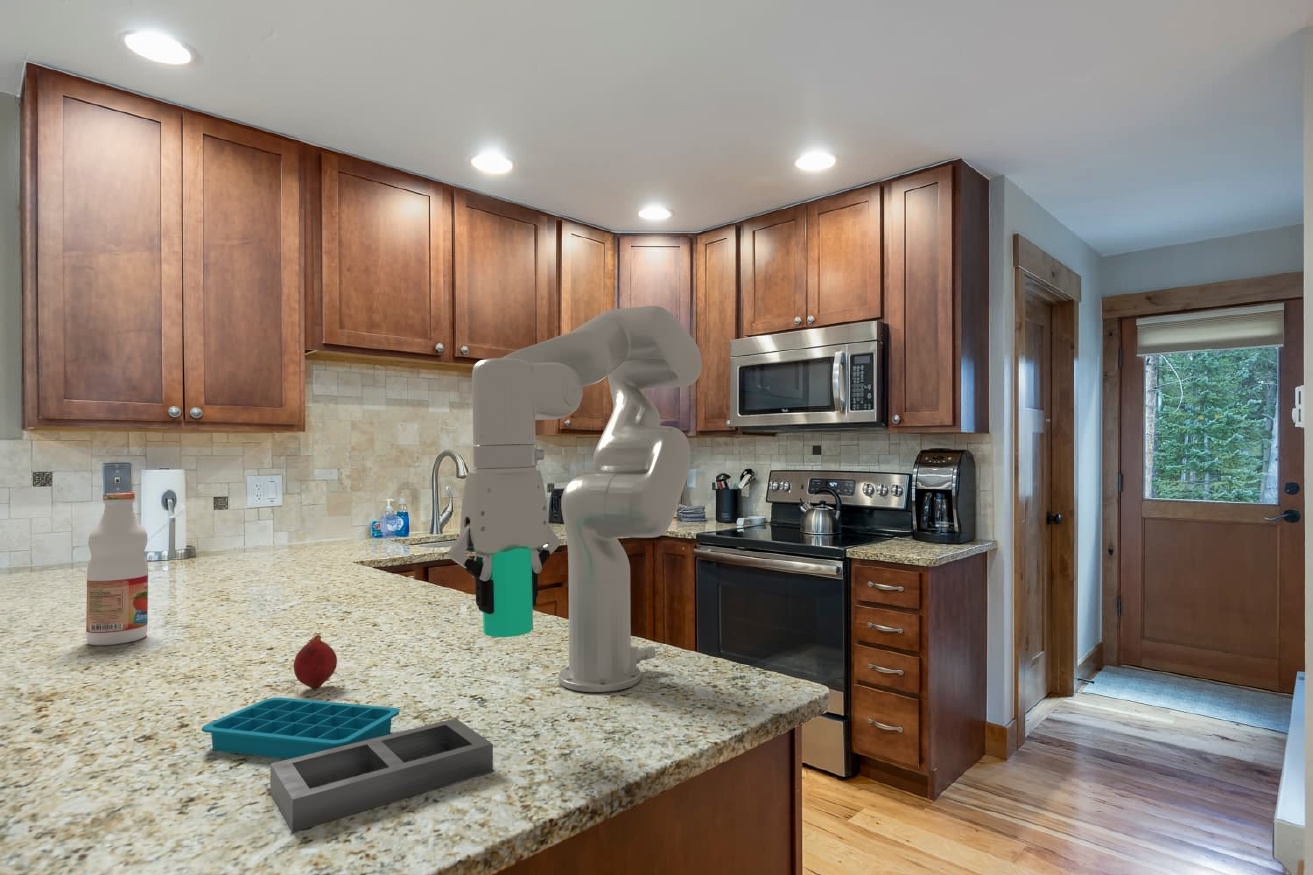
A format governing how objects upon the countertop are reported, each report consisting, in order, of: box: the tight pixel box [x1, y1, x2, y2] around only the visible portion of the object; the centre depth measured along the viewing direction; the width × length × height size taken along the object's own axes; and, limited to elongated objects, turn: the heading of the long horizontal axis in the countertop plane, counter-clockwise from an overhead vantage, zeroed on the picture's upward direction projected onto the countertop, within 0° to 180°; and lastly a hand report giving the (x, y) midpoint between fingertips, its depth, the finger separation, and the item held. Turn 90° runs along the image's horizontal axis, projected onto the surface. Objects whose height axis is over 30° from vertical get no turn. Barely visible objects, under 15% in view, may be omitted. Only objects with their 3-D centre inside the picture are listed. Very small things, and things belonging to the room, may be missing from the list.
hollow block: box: [269, 717, 494, 833], centre depth 76 cm, size 20×10×3 cm, turn 129°
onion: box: [293, 634, 338, 690], centre depth 107 cm, size 6×6×8 cm
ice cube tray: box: [201, 696, 400, 760], centre depth 88 cm, size 12×20×3 cm, turn 75°
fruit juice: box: [85, 492, 149, 646], centre depth 138 cm, size 9×9×28 cm
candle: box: [482, 546, 534, 638], centre depth 88 cm, size 6×6×12 cm
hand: (507, 606), depth 88 cm, fingers closed on candle, 4 cm apart
